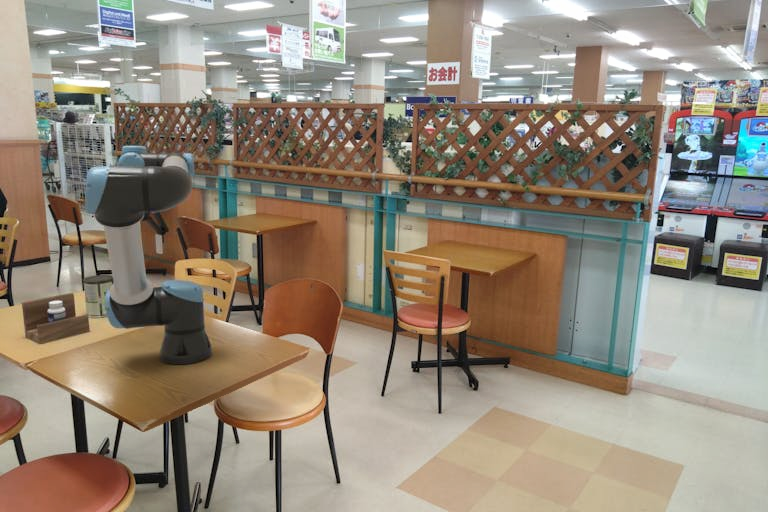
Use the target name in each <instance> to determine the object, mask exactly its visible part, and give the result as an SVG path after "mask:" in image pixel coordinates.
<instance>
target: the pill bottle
mask: <svg viewBox="0 0 768 512" xmlns="http://www.w3.org/2000/svg"><path fill="white" fill-rule="evenodd" d="M62 306H63V302H62V301H51V302H49V307H50V308H49V309H48V311H47V313H48V323H51V322H55V321H59V320H64V319H66V313H65V308H64V307H62Z"/></svg>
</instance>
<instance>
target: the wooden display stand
mask: <svg viewBox="0 0 768 512" xmlns="http://www.w3.org/2000/svg"><path fill="white" fill-rule="evenodd" d="M51 301H62V302H63V306H62V307H64V308H65V313H66V319H64V320H59V321H55V322H51V323H48V313H47V311H48V309H49V308H50V307H49V302H51ZM75 304H76V303H75V294H74V292H70V293H63V294H59V295H53V296H48V297H44V298H43V297H42V298H37V299H33V300H27V301H23V302H22V301H21V307H22V316H23V326H24V334H25V338H26V339H29V340H30V341H33V342H35V343H38V344H39V345H42V344H44V343H45V344H46V343H50V342H53V341H56V340H57V341H58V340H61V339H64V338H65V339H66V338H69V337H72V336H73V337H74V336H78V335H81V334H85V333H89V332H90V330H91V329H90V319H89V318H90V317H88V315H87V313H86V314H83V315H78V316H77V314H76V305H75Z"/></svg>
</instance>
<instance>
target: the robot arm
mask: <svg viewBox="0 0 768 512" xmlns="http://www.w3.org/2000/svg"><path fill="white" fill-rule="evenodd" d="M195 172H196V171H195V158H194V154H192V153H189V152H148V150H147V147H146V146H144V145H123V146H122V147H121V156H120V157H119V159H118V163H117V166H110V165H109V164H107V165H102V166H92V167H91V168H90V169H88V171H87V175H86V181H85V193H84V194H85V198H84V199H85V200H84V205H85V212H86V213H87V214H89V215H94V218H95V220H96V222H97V223H98V224H99V225H101V226H103V230H104V236H105V243H106V248H107V252H108V258H109V265H110V269H111V276H113V281H114V283H113V285H112V286H111V288H110V290H108V291H107V292H106V295H105V307H106V313H107V317H106V318H107V319H108V322H109V324H110V325H111V326H112V327H113V328H115V329H126V330H127V329H129V330H130V329H134V328H135V329H136V328H147V327H158V326H161V327H162V326H164V335H163V338H162V339H163V340H162V342H161V347H160V349H159V358H160V360H161V362H163V363H165V364H170V365H188V364H195V363H199V362H203V361H205V360H207V359H208V358H210V357H211V356H212V354H213V352H212V344H211V342H210V339H209V336H208V334H207V331H206V327H205V325H206V324H205V306H204V301H205V298H204V289H203V287H202V286H201V285H200V284H199V283H198V282H193V281H192V280H191V281H190V280H182V279H170V280H165V281H163V282H162V284H161V285H160V286H154V285H153V283H152V281H151V280H150V279H148V278H147V274H146V273H147V272H146V265H145V256H144V248H143V241H142V233H141V223H140V222H145V221H146V223H147V224H148V225H149V226H150V227H151V228H152V229H153V230H154V232H156V233H155V250H156V252H155V253H156V254H160V255H162V254H164V251H163V249H164V247H163V244H164V243H165V235H166V233H169V232H170V229H169V227H168V226H167V224H166V222H165V221H164V218H163V217H162V215H161V212H164V211H168V210H171V209H173V208H176V207H177V206H179V205H180V204H182V203H183V202H185V200H187V199H188V198H189V196H190V194H191V192H192V189H193V180H192V178H193V177H194V176H195ZM191 177H192V178H191ZM151 213H152V215H151ZM152 216H153V217H154V219H155V220H154V219H153V217H152ZM155 221H156V222H155Z"/></svg>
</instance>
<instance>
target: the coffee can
mask: <svg viewBox="0 0 768 512" xmlns="http://www.w3.org/2000/svg"><path fill="white" fill-rule="evenodd" d="M82 281H83V290H84V299H85V309H86V314H87V315H88V318H92V319H93V318H94V319H97V318H98V319H99V318H108V317H107V313H106V307H105V295H106V292H107V291H108V290H110V288H111V286H112V285H113V283H114V281H113V276H112V275H110V274H99V275H98V274H97V275H91V276H87V277H84V278H83V280H82Z"/></svg>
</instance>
